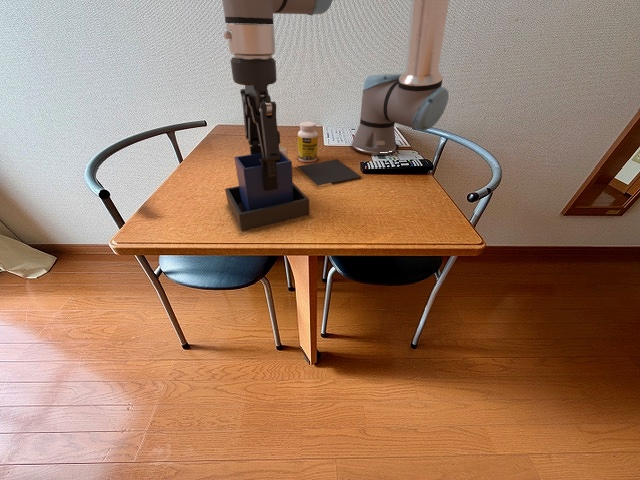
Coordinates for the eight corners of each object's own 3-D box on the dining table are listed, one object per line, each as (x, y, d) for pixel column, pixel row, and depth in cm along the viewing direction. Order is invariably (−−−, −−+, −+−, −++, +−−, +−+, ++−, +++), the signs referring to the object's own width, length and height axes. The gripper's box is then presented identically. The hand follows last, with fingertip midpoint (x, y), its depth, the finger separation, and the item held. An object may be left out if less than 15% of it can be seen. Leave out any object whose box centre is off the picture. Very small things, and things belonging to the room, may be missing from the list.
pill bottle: (301, 164, 89) (301, 127, 83) (295, 156, 94) (294, 121, 87) (320, 161, 91) (321, 125, 84) (313, 154, 96) (313, 120, 89)
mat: (336, 161, 92) (336, 159, 92) (361, 178, 82) (361, 176, 82) (296, 168, 87) (296, 166, 86) (317, 187, 77) (317, 185, 77)
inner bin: (282, 198, 71) (279, 150, 63) (293, 211, 66) (291, 161, 58) (242, 206, 67) (234, 156, 60) (250, 221, 62) (243, 169, 55)
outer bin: (288, 193, 74) (287, 176, 71) (309, 216, 65) (309, 199, 62) (228, 205, 68) (224, 188, 65) (242, 233, 59) (238, 215, 57)
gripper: (217, 51, 54) (236, 167, 68) (247, 64, 40) (262, 206, 54) (256, 51, 57) (266, 162, 70) (297, 62, 43) (299, 198, 57)
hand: (264, 181), depth 62 cm, fingers closed on inner bin, 7 cm apart
